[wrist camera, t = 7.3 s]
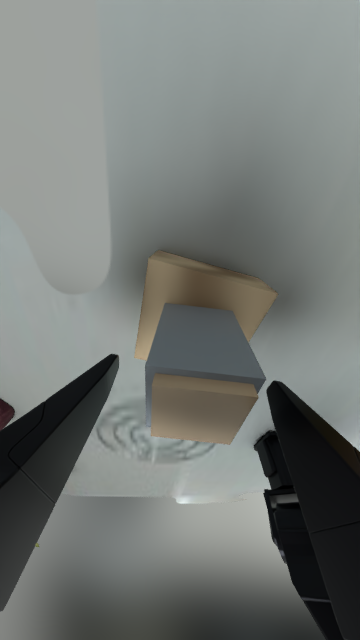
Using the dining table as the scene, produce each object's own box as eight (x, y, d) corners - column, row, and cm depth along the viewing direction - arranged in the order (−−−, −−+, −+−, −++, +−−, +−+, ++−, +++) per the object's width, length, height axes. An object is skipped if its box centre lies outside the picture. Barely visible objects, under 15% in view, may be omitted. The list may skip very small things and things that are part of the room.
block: (257, 277, 14) (278, 294, 11) (219, 349, 19) (226, 377, 15) (158, 249, 13) (148, 258, 10) (144, 332, 18) (134, 357, 15)
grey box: (232, 310, 12) (272, 392, 6) (217, 359, 14) (235, 448, 9) (164, 302, 12) (141, 377, 6) (161, 353, 14) (143, 438, 9)
